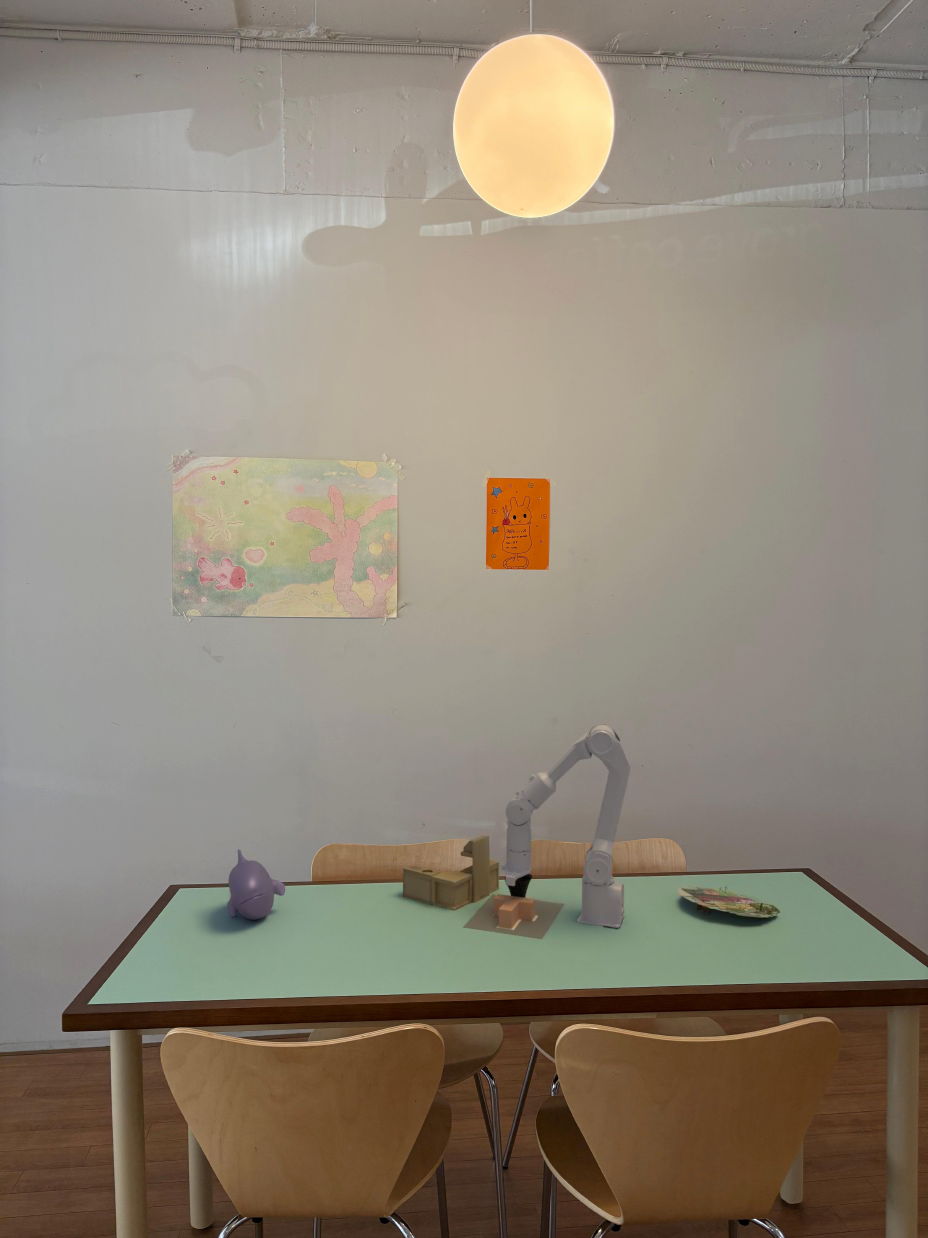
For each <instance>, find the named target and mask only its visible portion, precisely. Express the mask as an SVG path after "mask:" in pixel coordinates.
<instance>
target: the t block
mask: <svg viewBox="0 0 928 1238" xmlns="http://www.w3.org/2000/svg"><path fill="white" fill-rule="evenodd" d="M495 895H496V897H495V898H494V916H499V927H501V928H508V929H512V928H513V927H514V925H515V924H516V923H517V921H518V920H519V919H521V920H528V921H532V920H533V919H534V917H535V900H536V899H535V898H531V897H525V898H524V897H516V896H511V895H510V894H509V895H508V894H501V893H499V894H498V893H497V894H495Z"/></svg>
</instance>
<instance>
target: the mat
mask: <svg viewBox="0 0 928 1238" xmlns="http://www.w3.org/2000/svg"><path fill="white" fill-rule="evenodd" d="M491 894H492V893H491ZM491 894H490V895H491ZM496 895H497V894H492V895H491V896H489V898H487V900H486V901H485V902H484V903H483V904H482V905H481V906H480V907H479V909H477V910H476V912H475V913H474V914H473V915H472V916H471V918H470V919H469V920H468V921H467V922H466V923H465V924H464V925H463V926H462V928H465V929H470V930H477V931H485V932H490V933H496V934H497V933H499V934H505V935H514V936H519V937H526V938H531V939H532V938H533V939H538V940H539V939H540V940H542V939H544V937H545V936H546V934H547V933H548V931H549V929H550V927H551V926H552V924H553V923H554V921H555V920H556V919H557V917H558V915H559V914H560V912H561V910H562V909H563V907H564V906H565V903H560V902H552V901H544V900H537V899H535V917H534V919H533V920H532V921H528V920H521V919H519V920H518V921H517V923H516V924H515V925H514V927H513V928H512V929H508V928H501V927H499V916H494V898H495V897H496Z"/></svg>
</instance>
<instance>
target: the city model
mask: <svg viewBox="0 0 928 1238" xmlns="http://www.w3.org/2000/svg"><path fill="white" fill-rule="evenodd" d="M727 889H728V887H727V884H726V886H724V890H725V891H723V890H722V888H721V887H720V888H719V889H715V888H707V887H697V886H689V885H688V886H687V885H686V886H682V887H680V888H678V891H677V892H676V893H678V895H680V896H681V897H683V898H684V899H686V900H689V901H690V902H693V903H695V904H696V911H697V912H698V911H701V913H700V914H701V915H708V914H710V910H711V909H714V910H718V911H722V912H725V913H726V912H728V913H730V914H735V915H737V916H742V917H751V918H752V917H753V918H770V917H771V918H773V917H777V916H778V914H780V912H781V910H780V909H779V908H778V907H776V906H775V905H773V904H769V903H763V902H760V903H759V902H757V901H755V900H752V899H751V898H748V897H745V896H742V895H740V894H737V893H734V892H731V891H726V890H727Z"/></svg>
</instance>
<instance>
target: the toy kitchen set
mask: <svg viewBox="0 0 928 1238" xmlns="http://www.w3.org/2000/svg"><path fill="white" fill-rule="evenodd" d="M462 848H463V850H461V851H460V856H462V857H465V858H471V860H472V861H471V862H472V865H470V866H468V867H465V868H463V869H461V870H459V871H458V870H456V871H441V870H437V869H432V868H429V867H425V866H421V865H418V864H414V863H413V864H410V865H407V866H404V867H403V869H402V872H403V873H402V896H403V898H406V899H410V900H413V901H417V902H420V903H423V904H426V905H430V906H438V907H441V908H444V909H448V910H451V911H454V912H455V911H457V910H459V909H462V908H463V907H465V906H468V905H469V904H472V903H477V902H479V901H482V900H483V899H486V898H487V897H490V895H491V894H492V893H494V892H497V891H498V890H500V861H499V860H498V861H497V860H493V859H490V857H491V854H490V835H480V836H477V837H475V838H472V839H470V840H469V841H468V842H467V843H466V844H465V845H464V846H463V847H462Z"/></svg>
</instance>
